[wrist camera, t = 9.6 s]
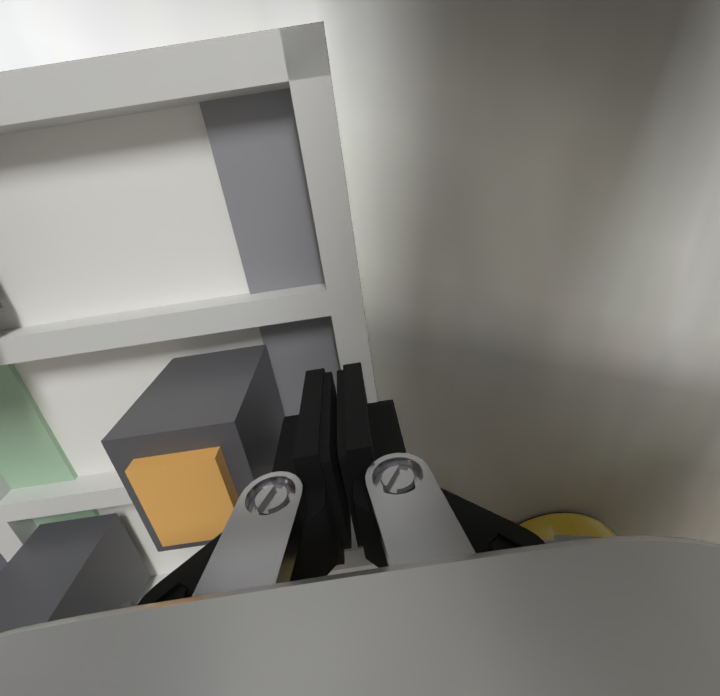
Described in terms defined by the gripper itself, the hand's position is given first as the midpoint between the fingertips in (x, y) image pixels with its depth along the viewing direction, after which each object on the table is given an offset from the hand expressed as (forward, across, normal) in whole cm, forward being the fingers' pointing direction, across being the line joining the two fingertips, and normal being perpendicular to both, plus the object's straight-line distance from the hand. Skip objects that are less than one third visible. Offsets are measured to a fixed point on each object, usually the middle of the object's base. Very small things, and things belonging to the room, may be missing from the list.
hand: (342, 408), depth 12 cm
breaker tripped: (+1, +4, 0) cm, 4 cm away
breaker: (+1, +11, +6) cm, 13 cm away
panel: (+3, +6, 0) cm, 7 cm away
